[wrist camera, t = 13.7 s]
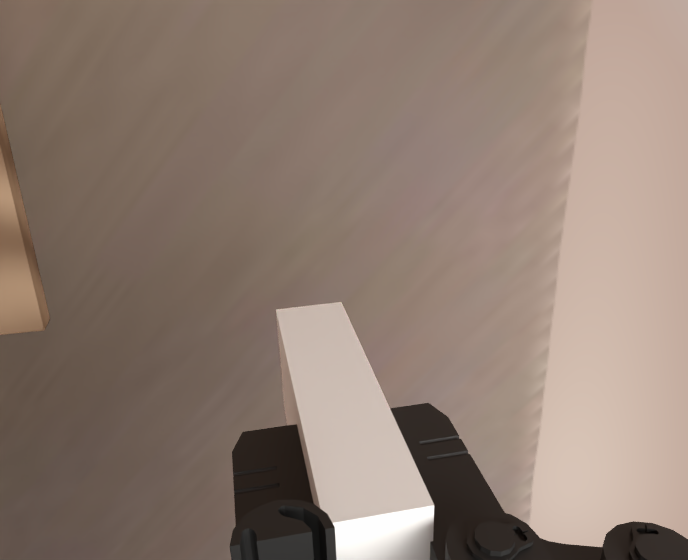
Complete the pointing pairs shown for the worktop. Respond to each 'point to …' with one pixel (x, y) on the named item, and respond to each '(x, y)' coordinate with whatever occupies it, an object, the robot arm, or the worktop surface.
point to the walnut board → (17, 255)
